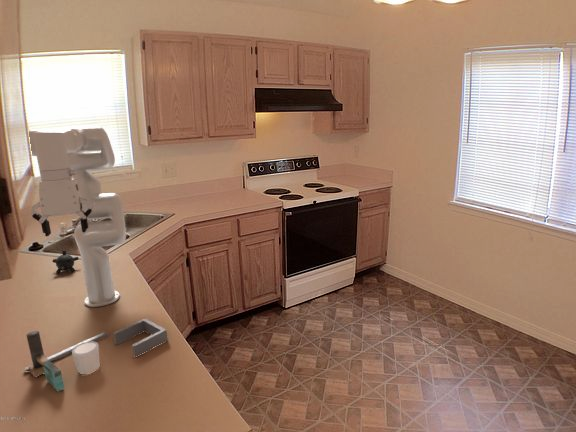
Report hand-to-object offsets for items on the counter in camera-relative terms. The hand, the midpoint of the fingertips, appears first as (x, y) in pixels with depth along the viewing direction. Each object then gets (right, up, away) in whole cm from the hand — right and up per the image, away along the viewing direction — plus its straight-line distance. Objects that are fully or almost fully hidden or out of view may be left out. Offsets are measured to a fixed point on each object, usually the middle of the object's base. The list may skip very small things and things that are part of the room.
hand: (66, 233), depth 117 cm
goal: (+18, -35, +10) cm, 41 cm away
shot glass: (+8, -39, -2) cm, 40 cm away
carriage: (-1, -40, -7) cm, 41 cm away
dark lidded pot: (-38, -21, +70) cm, 83 cm away
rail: (-3, -37, +6) cm, 38 cm away
